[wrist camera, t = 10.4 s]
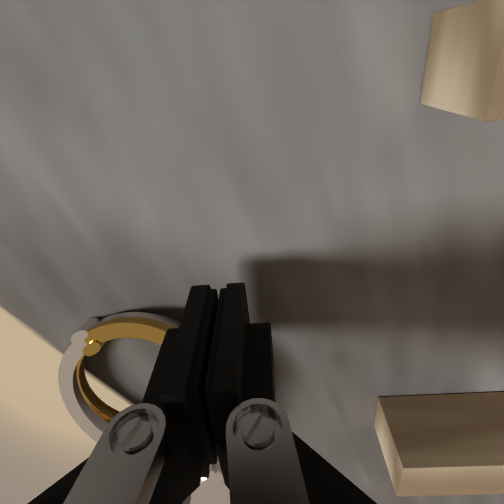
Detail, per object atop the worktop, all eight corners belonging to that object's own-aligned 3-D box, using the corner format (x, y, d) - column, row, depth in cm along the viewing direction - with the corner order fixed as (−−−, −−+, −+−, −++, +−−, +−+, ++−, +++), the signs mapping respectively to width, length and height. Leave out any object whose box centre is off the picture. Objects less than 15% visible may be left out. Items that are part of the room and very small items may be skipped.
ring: (49, 344, 15) (168, 455, 17) (-8, 398, 12) (144, 526, 14) (162, 260, 13) (282, 395, 15) (128, 300, 10) (282, 462, 12)
